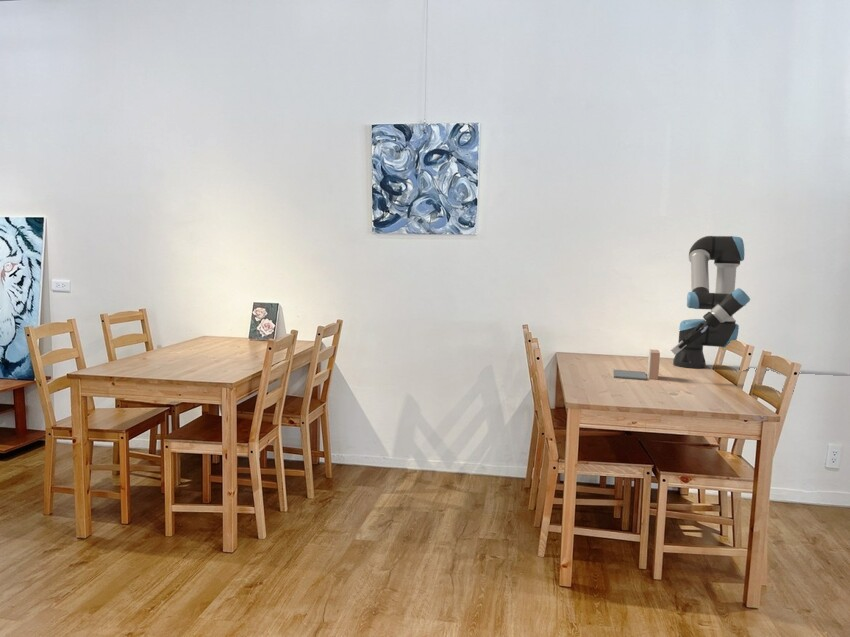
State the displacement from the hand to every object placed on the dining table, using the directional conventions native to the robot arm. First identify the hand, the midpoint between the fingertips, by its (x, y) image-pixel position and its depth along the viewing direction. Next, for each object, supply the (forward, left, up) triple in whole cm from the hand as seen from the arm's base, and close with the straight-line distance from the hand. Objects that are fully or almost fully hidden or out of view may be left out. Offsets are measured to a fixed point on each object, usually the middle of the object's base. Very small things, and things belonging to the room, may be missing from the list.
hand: (672, 352), depth 294 cm
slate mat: (+16, -8, -12) cm, 21 cm away
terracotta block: (+7, -4, -12) cm, 14 cm away
